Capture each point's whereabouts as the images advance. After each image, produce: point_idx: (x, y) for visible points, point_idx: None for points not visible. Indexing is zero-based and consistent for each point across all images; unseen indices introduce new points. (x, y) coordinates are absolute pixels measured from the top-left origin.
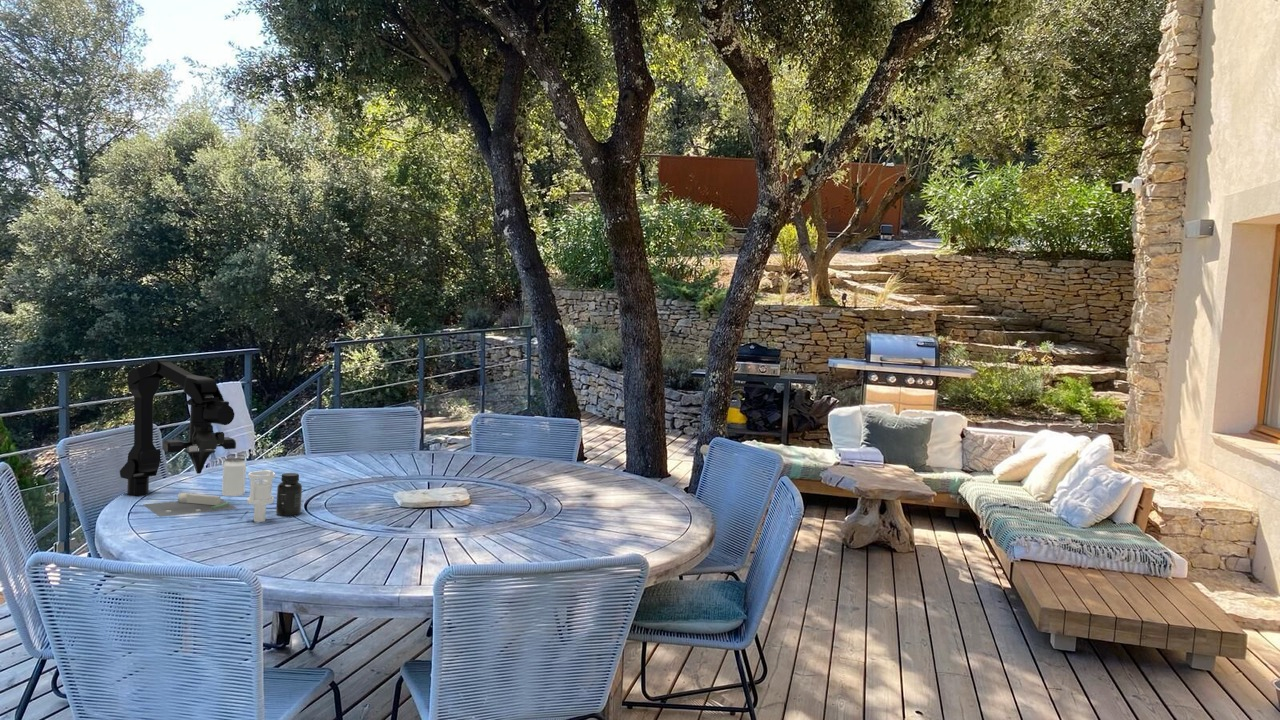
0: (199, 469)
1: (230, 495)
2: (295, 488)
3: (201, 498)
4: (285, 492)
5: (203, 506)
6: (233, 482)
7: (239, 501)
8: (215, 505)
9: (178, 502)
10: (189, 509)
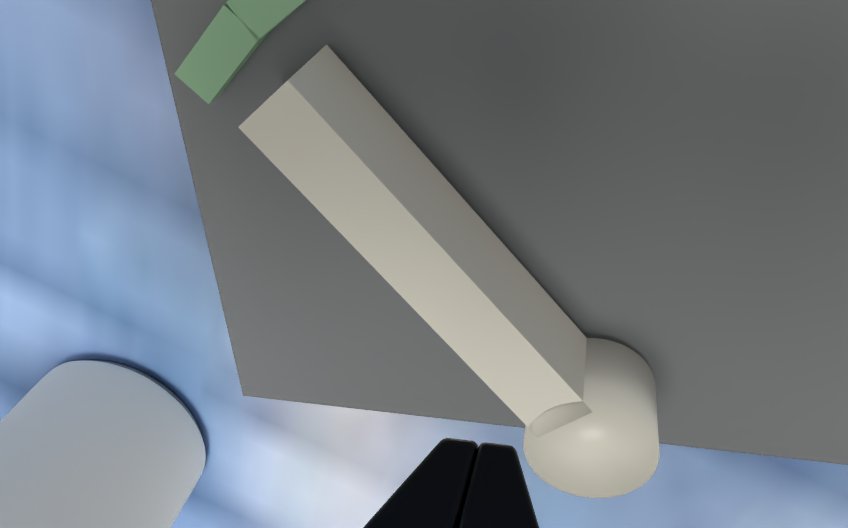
0: (463, 515)
1: (136, 394)
2: None
3: (458, 242)
4: None
5: (477, 103)
6: (35, 483)
7: (85, 263)
8: None
9: None
10: (696, 21)
